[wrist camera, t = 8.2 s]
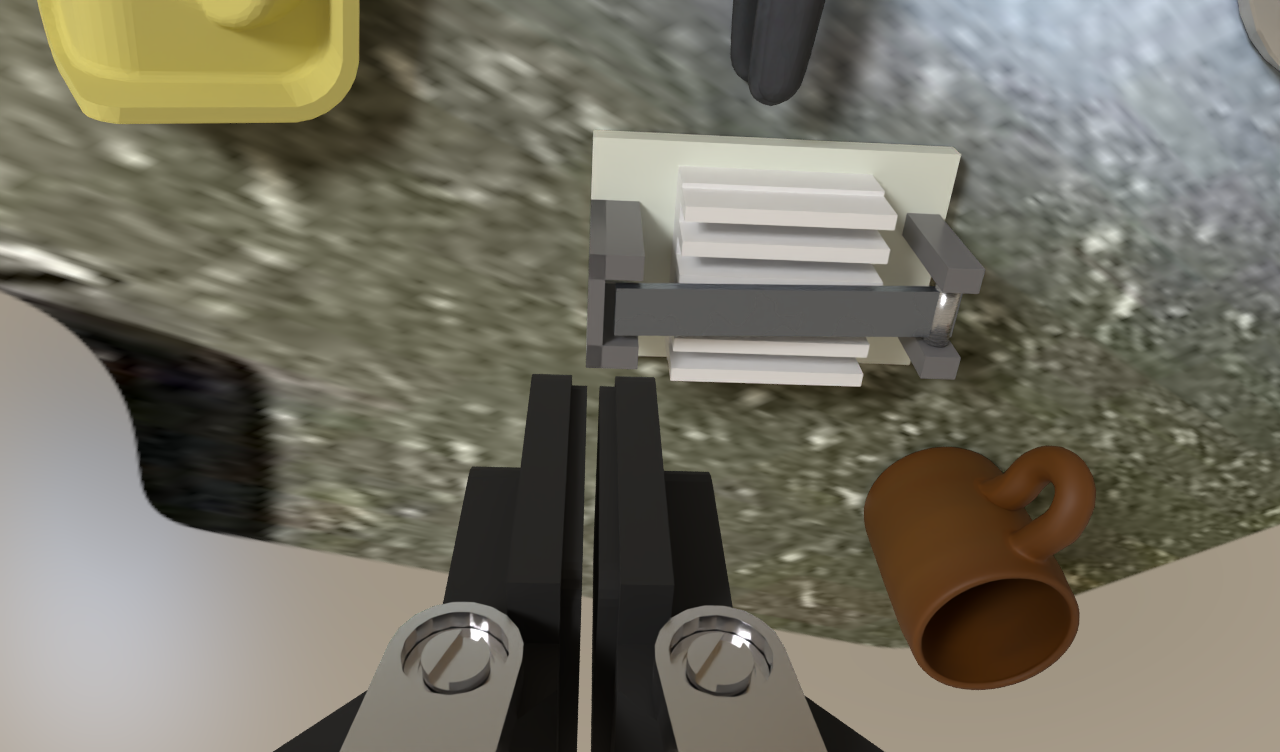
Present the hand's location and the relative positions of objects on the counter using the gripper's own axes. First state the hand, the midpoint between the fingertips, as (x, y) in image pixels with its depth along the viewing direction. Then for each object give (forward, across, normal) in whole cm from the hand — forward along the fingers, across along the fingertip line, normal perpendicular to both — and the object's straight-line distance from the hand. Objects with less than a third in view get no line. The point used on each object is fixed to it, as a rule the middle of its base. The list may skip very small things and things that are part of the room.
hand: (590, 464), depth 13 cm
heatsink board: (+27, -7, +8) cm, 29 cm away
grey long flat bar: (+22, -8, +8) cm, 25 cm away
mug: (+27, -19, +20) cm, 39 cm away
